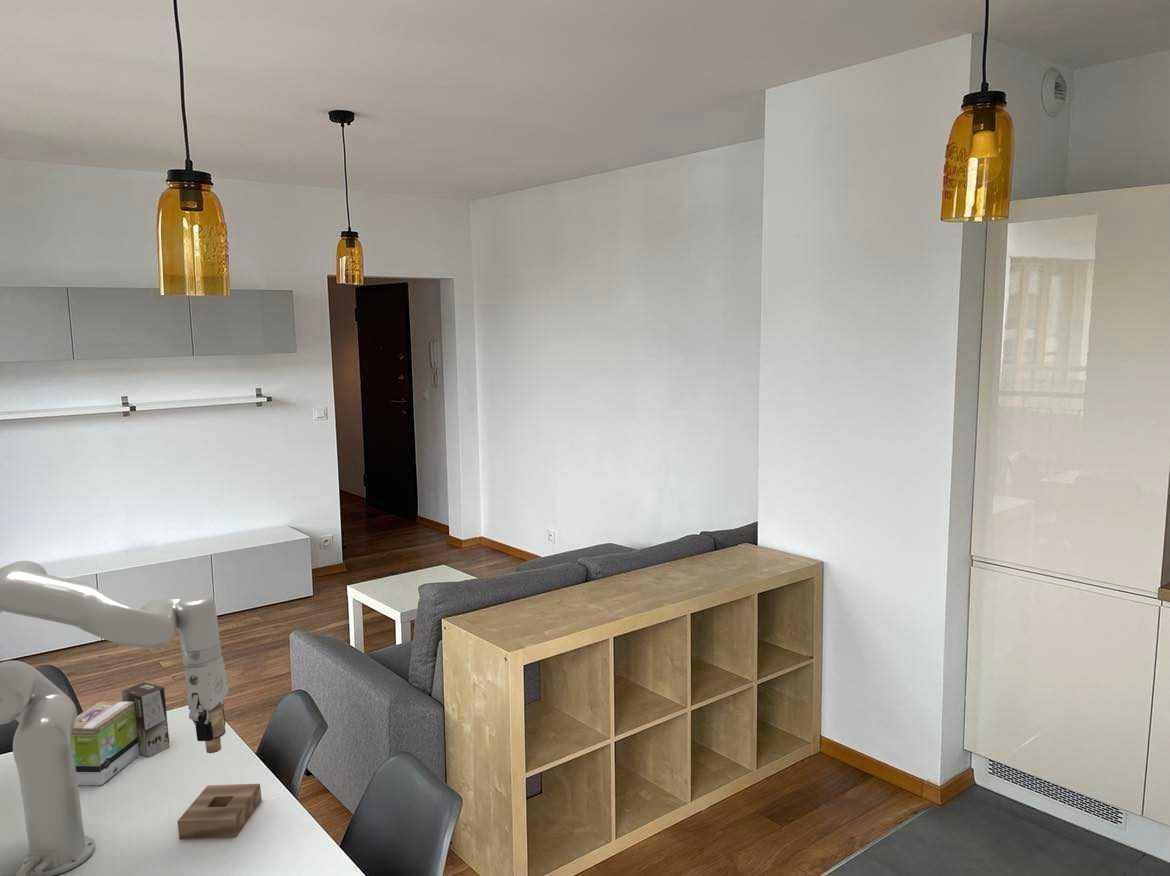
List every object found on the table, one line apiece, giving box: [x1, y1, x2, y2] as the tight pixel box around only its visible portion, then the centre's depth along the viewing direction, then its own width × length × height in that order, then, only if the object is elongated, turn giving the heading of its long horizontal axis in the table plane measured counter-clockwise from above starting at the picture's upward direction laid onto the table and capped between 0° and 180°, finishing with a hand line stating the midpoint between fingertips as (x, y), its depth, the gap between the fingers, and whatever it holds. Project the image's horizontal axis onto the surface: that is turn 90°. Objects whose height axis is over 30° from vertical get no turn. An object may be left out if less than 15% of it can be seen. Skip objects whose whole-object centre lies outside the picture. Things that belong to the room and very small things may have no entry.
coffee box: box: [121, 681, 171, 757], centre depth 217 cm, size 9×6×16 cm
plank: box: [176, 783, 263, 840], centre depth 184 cm, size 14×12×4 cm
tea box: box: [71, 701, 140, 786], centre depth 206 cm, size 15×10×15 cm, turn 176°
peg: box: [199, 703, 226, 754], centre depth 181 cm, size 5×5×10 cm
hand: (211, 732), depth 181 cm, fingers closed on peg, 5 cm apart
